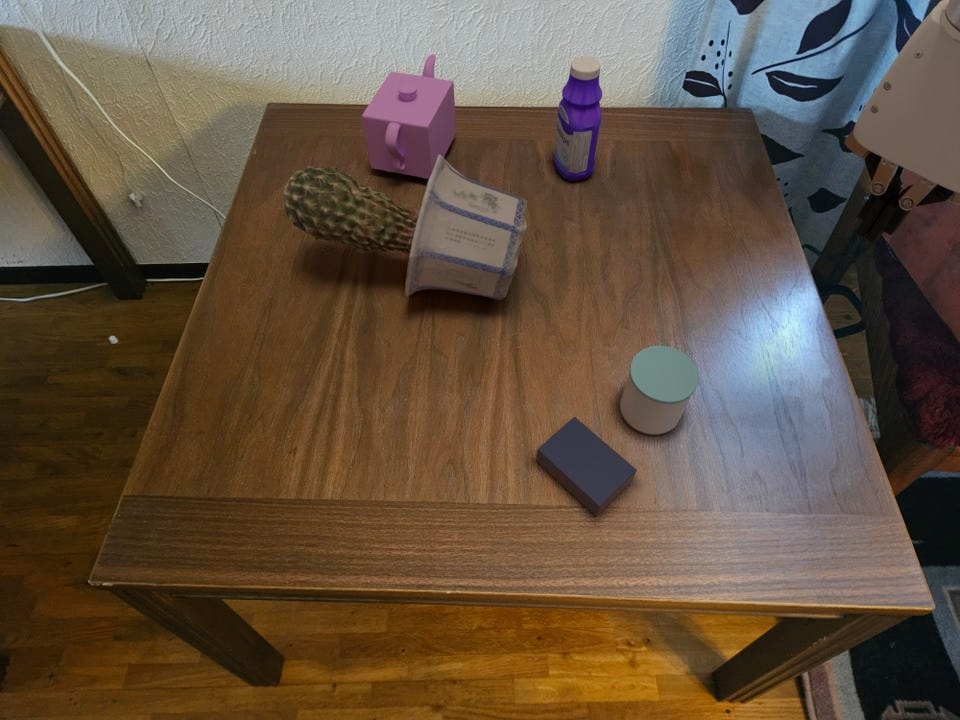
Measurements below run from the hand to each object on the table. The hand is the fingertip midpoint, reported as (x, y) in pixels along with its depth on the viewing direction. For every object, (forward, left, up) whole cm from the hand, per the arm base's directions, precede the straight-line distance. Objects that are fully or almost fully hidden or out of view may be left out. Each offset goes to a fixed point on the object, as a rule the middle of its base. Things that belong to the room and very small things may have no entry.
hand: (871, 230), depth 53 cm
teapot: (+64, 0, -27) cm, 70 cm away
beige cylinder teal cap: (+8, +15, -26) cm, 31 cm away
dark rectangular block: (+8, +22, -27) cm, 36 cm away
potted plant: (+44, +17, -27) cm, 55 cm away
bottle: (+44, -15, -27) cm, 54 cm away
